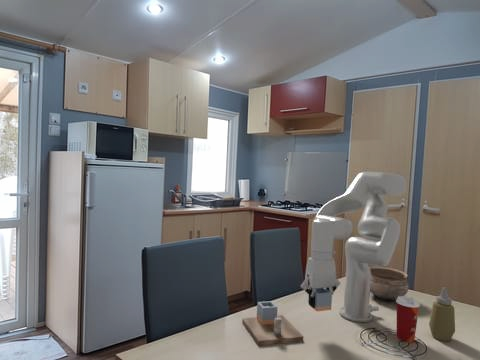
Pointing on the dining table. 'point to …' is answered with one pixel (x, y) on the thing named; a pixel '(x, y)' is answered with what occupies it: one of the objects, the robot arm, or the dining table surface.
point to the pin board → (272, 331)
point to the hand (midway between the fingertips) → (319, 305)
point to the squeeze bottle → (442, 317)
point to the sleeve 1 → (266, 312)
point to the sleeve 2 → (322, 299)
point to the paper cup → (407, 318)
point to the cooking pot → (388, 283)
